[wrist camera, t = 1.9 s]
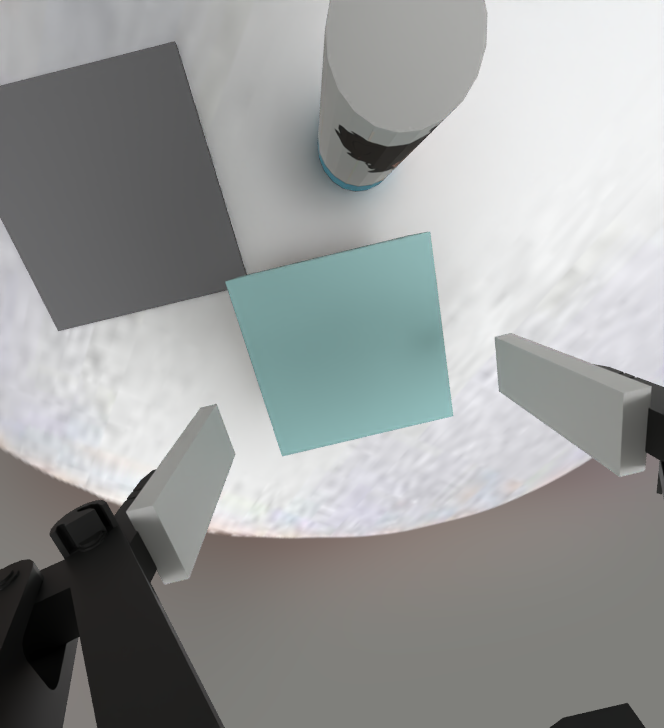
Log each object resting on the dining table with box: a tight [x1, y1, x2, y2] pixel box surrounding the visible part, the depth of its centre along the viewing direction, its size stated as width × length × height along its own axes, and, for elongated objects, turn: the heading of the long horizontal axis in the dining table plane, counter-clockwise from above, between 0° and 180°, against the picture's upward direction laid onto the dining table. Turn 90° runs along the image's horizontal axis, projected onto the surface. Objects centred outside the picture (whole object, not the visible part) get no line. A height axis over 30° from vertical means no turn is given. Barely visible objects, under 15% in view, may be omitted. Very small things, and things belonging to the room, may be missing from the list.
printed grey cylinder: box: [318, 0, 487, 191], centre depth 21 cm, size 7×7×15 cm
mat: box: [0, 42, 246, 331], centre depth 28 cm, size 18×18×1 cm
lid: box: [225, 232, 453, 456], centre depth 24 cm, size 12×12×5 cm
